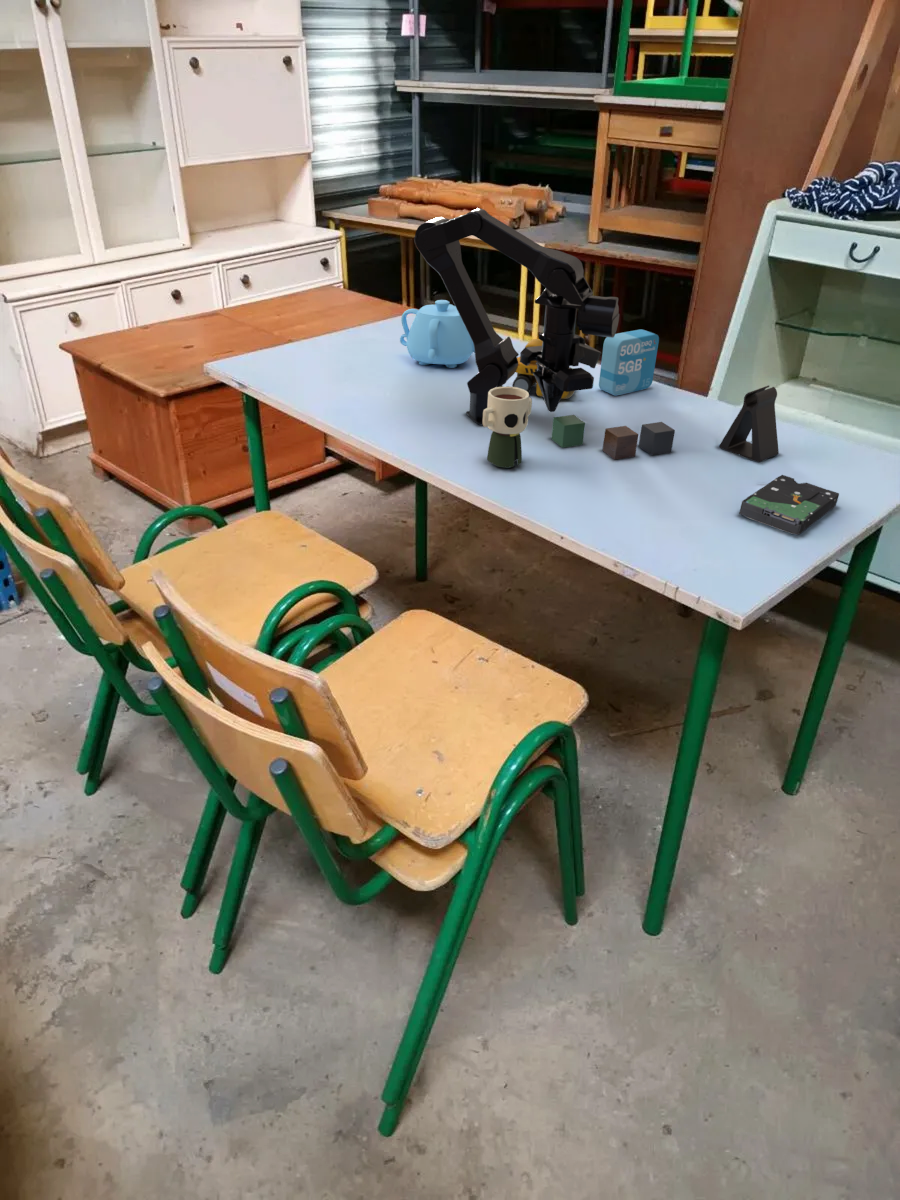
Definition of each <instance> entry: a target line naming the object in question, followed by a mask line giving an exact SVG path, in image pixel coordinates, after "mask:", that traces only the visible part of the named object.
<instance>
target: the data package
mask: <svg viewBox="0 0 900 1200" xmlns="http://www.w3.org/2000/svg"><path fill="white" fill-rule="evenodd" d="M659 343H660V337H659V335H658V334H656V333H654V332H652V331H648V330H645V329H635V330H630V331H624V332H618V333H615V336H614V337H613V338H611V337H605V339H604V341H603V346H602V353H601V354H602V355H601V361H600V362H601V363H600V371H599V378H598V379H599V380H598V387H599V389H600V390H601V391H604V392H605V393H607V394H610V395H612V396H614V397H615V396H622V395H625V394H626V395H627V394H630V393H635V392H639V391H643V390H648V389H649V388H650V387H651V386H652V384H653V381H654V376H655V375H654V374H655V368H656V361H657V355H658V350H659V349H658V348H659Z"/></svg>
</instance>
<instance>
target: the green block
mask: <svg viewBox="0 0 900 1200" xmlns="http://www.w3.org/2000/svg"><path fill="white" fill-rule="evenodd" d="M585 428H586V422H585V421H584V420H582V419H581V418H579V417H578V416H576V415H575V414H569V415H559V416H553V418H552V428H551V437H550V439H551V440H552V441H553V442H554V443H556V445H558V446H559V447H560V448H562V449H563V448H570V447H571V448H572V447H578V446H583V445H584V439H585V438H584V436H585Z"/></svg>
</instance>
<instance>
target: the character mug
mask: <svg viewBox="0 0 900 1200" xmlns="http://www.w3.org/2000/svg"><path fill="white" fill-rule="evenodd" d="M529 393H530V392H529ZM529 393H528V392H527V391H525V390H524V389H521V388H517V387H513V386H503V387H496V388H493V389H491V390H490V391H489V392H488V404H487V408H486V409H484V411H483V424H482V426H483V428H487V429H489V430H490V431H492V432H491V434H490V438H489V444H488V447H487V448H488V449H487V454H486V459H487V461H488V462H489V463H490V464H492V465H494V466H496V467H498V468H499V467H500V468H514V467H515V462H516V461H517V466H520V465H521V464H522V463H523V455H522V454H523V453H522V452H523V449H522V436H521V433H523V432H524V431H525V430H526V429H527V427H528V424H529V423H528V422H529V416H530V415H531V413H532V406H533V400H532V398H531V397H530V394H529Z"/></svg>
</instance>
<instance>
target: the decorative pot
mask: <svg viewBox="0 0 900 1200" xmlns="http://www.w3.org/2000/svg"><path fill="white" fill-rule="evenodd" d="M434 303H435V304H426V305H423V306H422V307H420V308H419V309H417V308H408V309H407V310H404V312H403V313H402V315H401V326H402V329H403V334H401V335H400V336H399V343H400V344H401V345H402V346H403V347H406V350H407V353H408V354H409V355H410V357H411V358H412V360H414V361H416V362H418V364H419V365H421V366H428V365H432V364H433V365H445V367H446V368H450V369H453V368H454V369H455V368H456V367H457V366H458V365H460V364H463V363H465V362H467V361H468V360H469V359H470V357H471V356H472V354H473V353H474V354H475V349H474V344H473V341H472V339H471V337H470V335H469V333H468V331H467V329H466V327H465V325H464V323H463V321H462V319H461V317H460V315H459V313H458V311H457V309H456V306H455V305H453V304H451V303H450V301H449V300H446V299H437V300H435V302H434ZM410 314H413V315H415V316H414V319H413V321H412V322H411V326H410V327H409V325H408V321H407V317H408V315H410ZM405 339H406V340H405Z"/></svg>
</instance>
